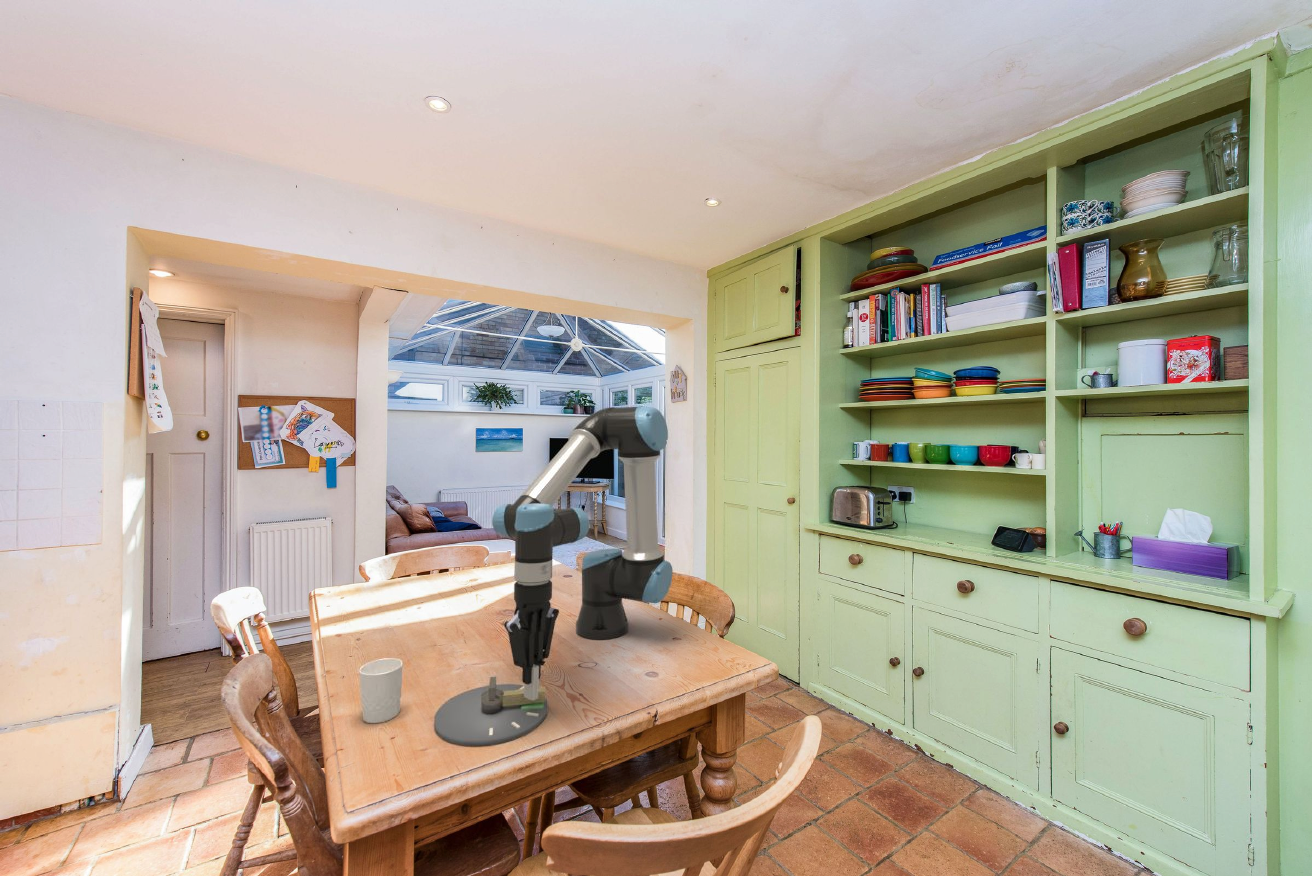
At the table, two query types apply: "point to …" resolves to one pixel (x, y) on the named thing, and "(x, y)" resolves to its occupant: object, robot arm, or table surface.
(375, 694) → the white cup
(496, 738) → the dial
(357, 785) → the table surface
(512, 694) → the needle
